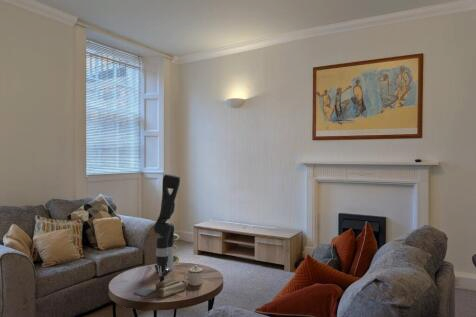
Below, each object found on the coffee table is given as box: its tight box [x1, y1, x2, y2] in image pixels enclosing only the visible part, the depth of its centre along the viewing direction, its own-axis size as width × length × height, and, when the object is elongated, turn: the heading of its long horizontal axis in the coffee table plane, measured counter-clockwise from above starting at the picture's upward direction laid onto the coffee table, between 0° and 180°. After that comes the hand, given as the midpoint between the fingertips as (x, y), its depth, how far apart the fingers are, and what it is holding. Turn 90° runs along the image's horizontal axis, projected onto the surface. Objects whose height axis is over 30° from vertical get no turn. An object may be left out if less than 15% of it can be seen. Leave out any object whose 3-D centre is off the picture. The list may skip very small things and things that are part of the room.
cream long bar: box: [158, 280, 187, 298], centre depth 203 cm, size 3×18×5 cm, turn 139°
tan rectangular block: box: [155, 277, 180, 293], centre depth 207 cm, size 8×12×5 cm, turn 143°
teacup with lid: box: [183, 264, 204, 287], centre depth 218 cm, size 12×9×12 cm
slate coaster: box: [133, 287, 156, 298], centre depth 202 cm, size 9×9×1 cm
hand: (161, 281), depth 210 cm, fingers closed
